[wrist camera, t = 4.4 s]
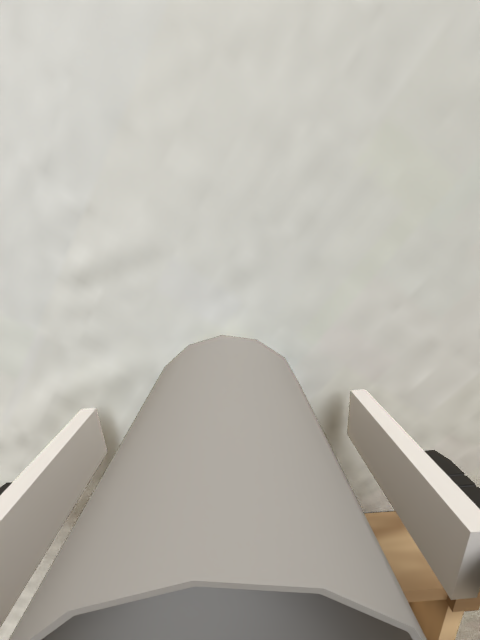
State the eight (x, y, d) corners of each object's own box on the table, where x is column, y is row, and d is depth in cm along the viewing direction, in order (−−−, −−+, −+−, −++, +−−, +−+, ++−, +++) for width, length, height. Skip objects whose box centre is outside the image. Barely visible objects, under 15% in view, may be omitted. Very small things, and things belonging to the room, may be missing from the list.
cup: (225, 481, 16) (214, 843, 6) (125, 402, 14) (-110, 742, 4) (328, 403, 14) (523, 714, 5) (233, 304, 13) (236, 486, 3)
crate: (198, 523, 17) (187, 616, 12) (421, 507, 17) (484, 593, 13) (217, 652, 21) (213, 753, 17) (394, 638, 21) (434, 735, 17)
